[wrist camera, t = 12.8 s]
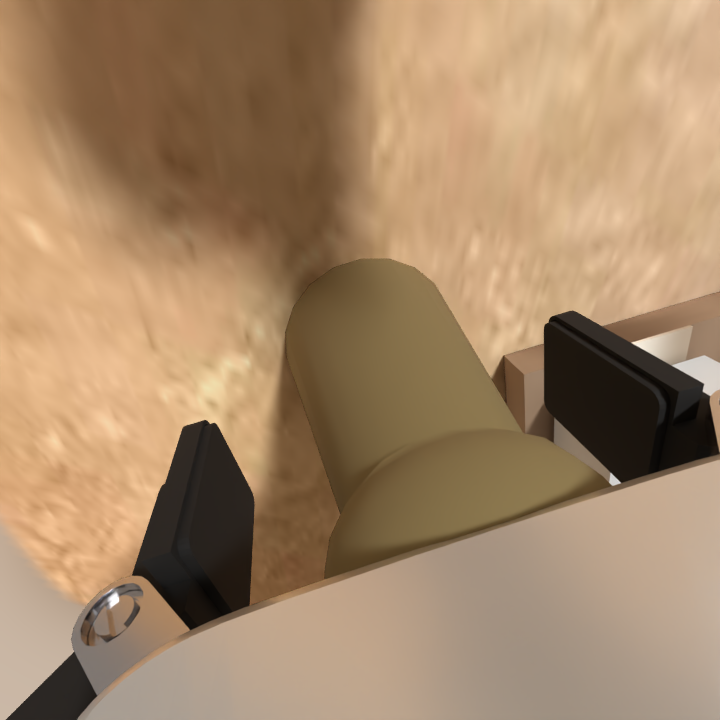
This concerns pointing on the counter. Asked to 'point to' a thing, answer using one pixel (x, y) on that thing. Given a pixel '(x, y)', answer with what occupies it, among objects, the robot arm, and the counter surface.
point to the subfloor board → (648, 331)
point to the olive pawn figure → (411, 419)
